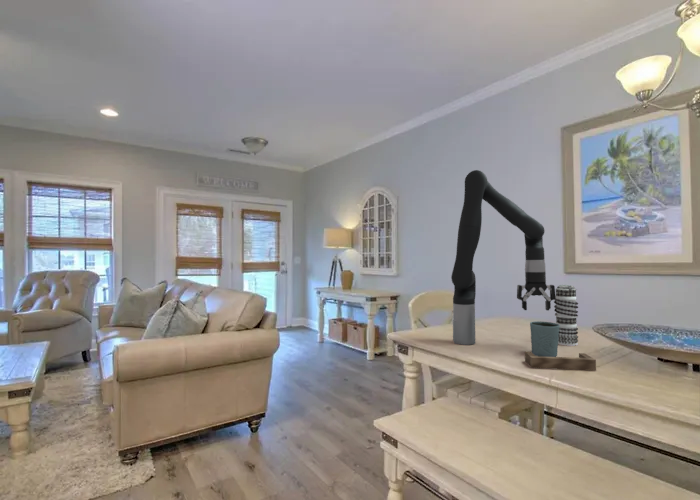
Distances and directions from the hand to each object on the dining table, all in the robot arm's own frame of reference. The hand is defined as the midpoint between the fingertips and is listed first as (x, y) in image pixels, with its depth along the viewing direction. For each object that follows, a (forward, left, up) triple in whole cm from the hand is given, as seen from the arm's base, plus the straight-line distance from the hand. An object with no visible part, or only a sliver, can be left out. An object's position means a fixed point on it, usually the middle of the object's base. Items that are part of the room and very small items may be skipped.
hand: (536, 310), depth 153 cm
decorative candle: (+15, +10, -16) cm, 24 cm away
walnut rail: (0, -24, -16) cm, 29 cm away
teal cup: (0, -10, -16) cm, 19 cm away
